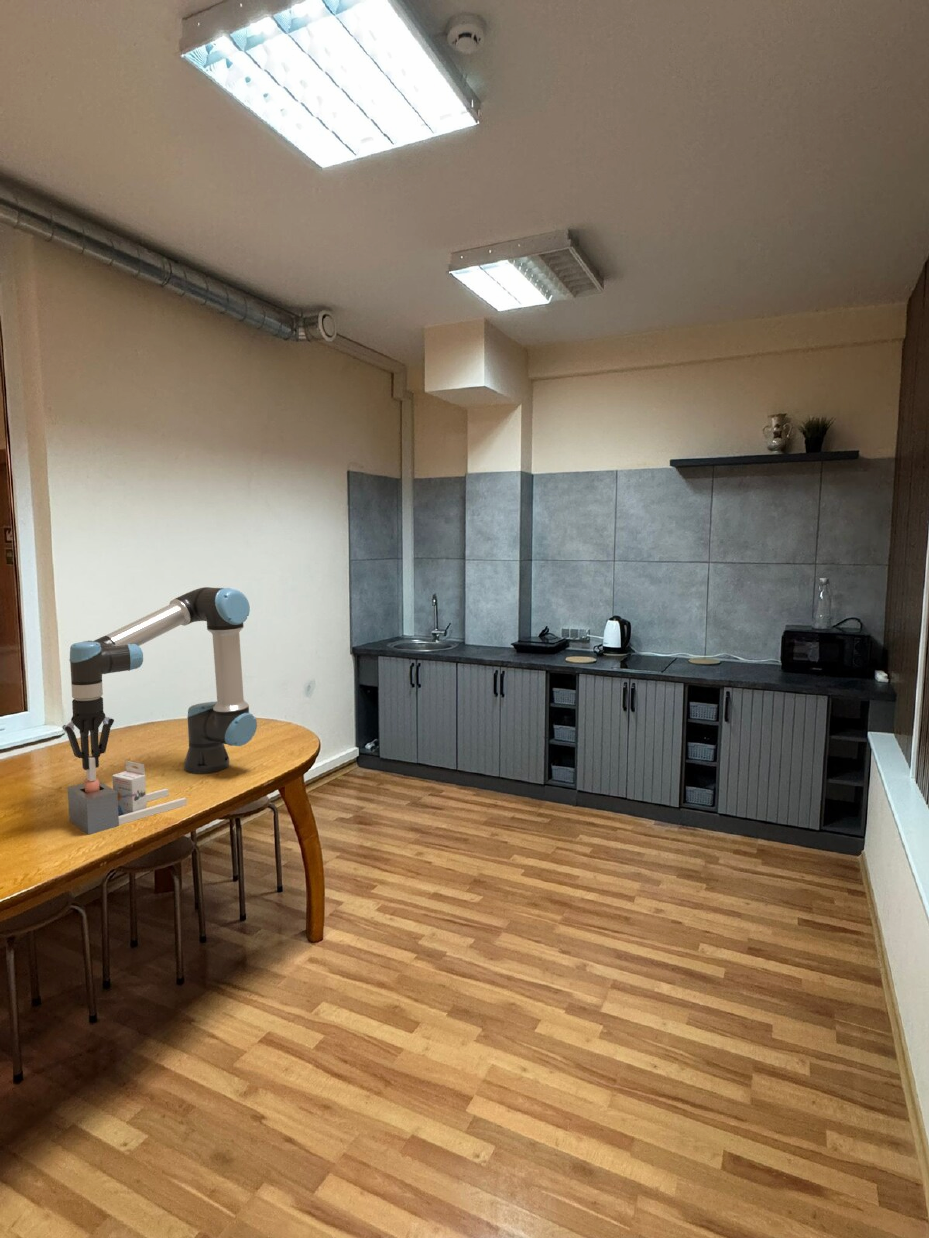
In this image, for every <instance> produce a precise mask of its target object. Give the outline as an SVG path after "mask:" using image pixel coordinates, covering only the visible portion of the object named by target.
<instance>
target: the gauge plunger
mask: <svg viewBox="0 0 929 1238" xmlns="http://www.w3.org/2000/svg"><path fill="white" fill-rule="evenodd" d="M99 781H100V779H99V778H96V780H94V781H89V780H87V779H86V780H84V783H85V793H86V794H88V793H92V792H96V791H100V789H99Z"/></svg>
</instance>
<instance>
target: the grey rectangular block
mask: <svg viewBox="0 0 929 1238" xmlns="http://www.w3.org/2000/svg"><path fill="white" fill-rule="evenodd" d="M99 789H100V791H96V792H92V793H88V794H86V793H85V782H83V783H78V784H74V785H70V786H67V801H68V803H67V804H68V805H67V806H68V816H69V817H68V818H69V820H68V821H69V822H71V823H72V824H73V825H74V826H76V827H77V828H78V829H80V830H81V831H82V832H84V833H86V834H87V835H88V836H89V835H93V834H97V833H99V832H103V831H105V830H106V831H107V830H109V829H112V828H116V827H119V826H120V825H119V816H120V814H118V794H117V791H116V790H114V789H113V787H111V786H109V785H107V784H105V782H102V781H100V780H99Z"/></svg>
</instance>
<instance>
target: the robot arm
mask: <svg viewBox="0 0 929 1238" xmlns="http://www.w3.org/2000/svg"><path fill="white" fill-rule="evenodd" d="M250 608H251V607H250V602H249V599H248V598H247V596H246V595H245V594H244V593H243V592H241V591H240V590H237V589H233V588H230V587H208V586H207V587H206V586H204V587H199V588H196V589H193V590H191V591H188V592H186V593H185V594H182V595H179V596H178V597H175V598H174V599H172V600H170V601H169V604H167V605H166V606H165V607H162V608H159V609H158V610H156V611H154V612H151V613H150V614H148V615H145V616H143V617H141V618H139V619H137V620H135V621H133V622H130V623H129V624H126V625H125V626H122V627H121V628H118V629H117V630H113V631H112V632H110V633H108V634H105V635H103V636H101V637H99V638H97V639H94V640H83V641H80V642H75V643H73V644H71V646H70V650H69V659H68V660H69V663H70V664H69V668H70V682H71V685H70V686H71V698H73V699H72V700H71V706H72V717H71V719H70V722H69V723H67V724H64V725H62V729H63V730H64V732H65V733H66V735H67V738H68V742H69V745H70V747H71V750H72V752H73V756H74V757H76V758H78V759H81V761H82V763H81V764H82V766H81V767H82V769H83V770H84V771H85V772H86V773H85V774H86V780H89V781H94V780H96V779H97V773H96V772H97V769H96V768H99V766H100V762H99V760H100V759H99V758H100V756H101V754H105V753H106V751H107V747H108V742H109V737H110V732H111V727H112V726H113V724H114V722H115V719H114V718H112V717H109V716H106V713H105V712H104V698H103V697H102V696H103V694H104V693H103V688H104V687H103V675H106V674H113V673H119V672H120V673H121V672H127V671H129V672H130V671H133V670H136V669H139V668H141V666H142V665H143V662H144V653H143V650H142V647H140V646H142V645H144V644H146V643H147V642H150V641H152V640H153V639H157V638H158V637H159V636H162V635H163V634H165V633H168V632H169V631H171V630H173V629H176V628H177V627H179V626H188V625H190V624H192V623H197V622H206V630H207V631H208V632H209V633H211V635H212V645H213V647H212V648H213V659H214V672H215V688H216V691H215V692H216V700H217V701H207V702H202V703H196V704H193V705H191V706H189V707H188V709H187V730H188V731H187V732H188V733H187V734H188V750H187V753H186V756H185V759H184V762H183V768H184V769H183V770H184V771H186V772H187V773H190V774H191V773H192V774H209V773H215V772H219V771H222V770H225V769H226V768H228V767H230V757H229V755H228V752H227V749H226V747H225V745H228V746H230V747H231V746H232V747H242V746H245V745H246V744H248V743H249V742H251V740H252V739H253V737H254V736H255V734H256V731H257V729H258V728H257V727H258V722H257V721H258V720H257V718H256V717H255V716H254V715H253V714H252V713H251V712H250V706H249V703H248V702H247V701H246V700H245V699H244V685H243V670H242V656H241V655H242V654H241V639H240V632H241V631H242V630H243V629H244V628H245V627H244V623H245V622H246V621H247V619H248V616H249V615H250V612H251V610H250ZM101 724H102V727H101ZM75 727H76V728H77V729H78V730H79V734H80V735H79V736H80V737H79V738H80V744H79V742H78V739H77V737H76V736H77V735H76V734H75ZM100 727H101V732H100V731H99V728H100ZM99 732H100V737H99ZM89 734H90V737H89ZM89 739H90V741H89ZM89 743H90V744H89ZM90 754H91V755H90Z"/></svg>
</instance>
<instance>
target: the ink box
mask: <svg viewBox="0 0 929 1238" xmlns="http://www.w3.org/2000/svg"><path fill="white" fill-rule="evenodd" d="M124 763H125V770H124V771H120V772H118V773H115V774H112V776H111V778H112V789H114V790H116V791H117V794H118V815H119V816H121V815H125V814H128V813H132V812H135V811H139V810H142V809H145V808H148V807H147V802H146V794H147V789H146V788H147V787H146V786H147V785H146V772H145V770H146V769H145V764H144V763H139V762H133V761H129V760H125V762H124ZM134 766H135V767H134ZM136 767H137V768H136Z"/></svg>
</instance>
